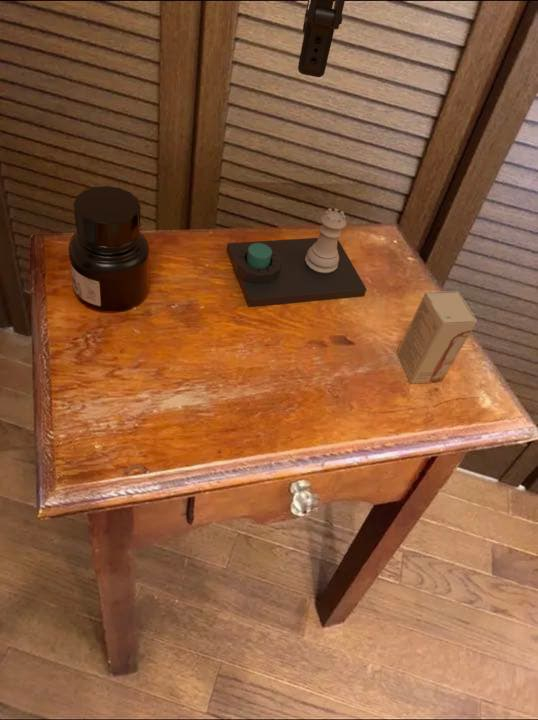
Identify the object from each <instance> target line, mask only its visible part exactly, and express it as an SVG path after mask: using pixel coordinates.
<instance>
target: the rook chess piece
mask: <svg viewBox="0 0 538 720" xmlns="http://www.w3.org/2000/svg"><path fill="white" fill-rule="evenodd" d="M320 221H321V223H322V224H321V226H320V227H319V231H320V233H319V234H318V237H317V238H318V239H317V241H316V243H314V244H313V246H311V247H310V248H309V250H308V253H307V255H306V258H305V260H306V263H307V265H308V267H309V268H310V269H311V270H313V271H315V272H317V273H321V274H328V273H330V272H333V271H334V270H335V269H336V268H337V267H338V262H339V255H338V250H337V242H338V240H339V237H340V236H341V235H342V233H343V232H342V229H343V228H345V227H346V226H347V221H346V215H345V212H344V211H343V210H341V211H340V212H339V208H334V209H333V208H327V210H325V213H323V214H321V217H320Z"/></svg>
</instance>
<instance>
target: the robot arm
mask: <svg viewBox="0 0 538 720" xmlns="http://www.w3.org/2000/svg"><path fill="white" fill-rule="evenodd" d="M345 2H346V0H307V4H306V8H305V10H304V11H305V12H304V16H303V18H304V19H303V25H302V32H303V38H302V39H303V40H302V43H301V48H300V53H299V58H298V65H297V70H298V72H299V73H300V74H301V75H305V76H310V77H315V78H321V77H323V76H324V75H325V74H326V73H325V72H326V68H327V64H328V59H329V55H330V51H331V46H332V42H333V38H334V32H335V30H339V28H340V25H342V22H343V18H344V17H343V11H344V6H345V4H346V3H345Z"/></svg>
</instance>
